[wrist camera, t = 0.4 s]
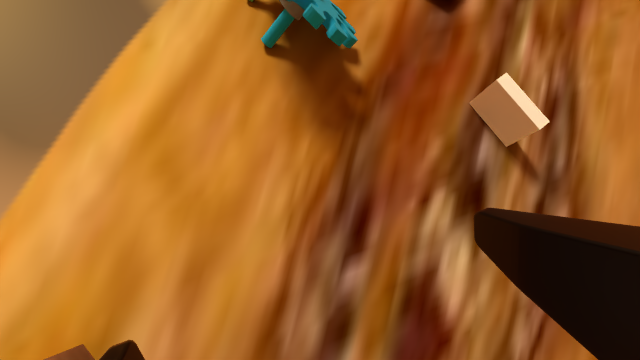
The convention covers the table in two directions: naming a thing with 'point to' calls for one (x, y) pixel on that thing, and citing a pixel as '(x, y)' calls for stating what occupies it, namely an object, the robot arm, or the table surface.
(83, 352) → the block
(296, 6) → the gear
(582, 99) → the table surface
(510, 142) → the eraser
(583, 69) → the table surface
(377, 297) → the table surface
